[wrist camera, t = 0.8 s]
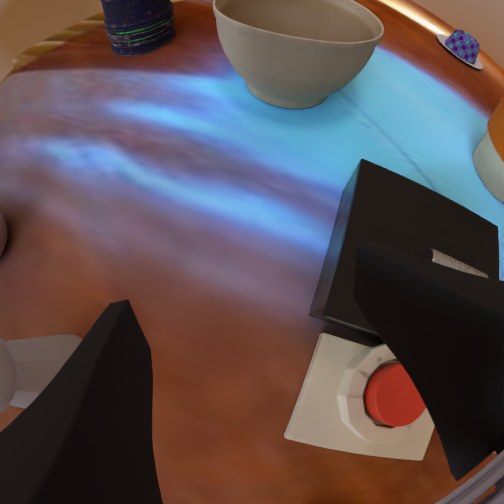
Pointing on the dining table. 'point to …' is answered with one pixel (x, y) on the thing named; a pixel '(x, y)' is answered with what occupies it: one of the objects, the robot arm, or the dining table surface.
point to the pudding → (462, 47)
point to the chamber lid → (407, 234)
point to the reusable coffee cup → (492, 154)
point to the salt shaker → (31, 366)
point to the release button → (393, 397)
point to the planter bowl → (296, 46)
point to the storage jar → (138, 25)
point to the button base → (351, 404)
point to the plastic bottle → (2, 232)
